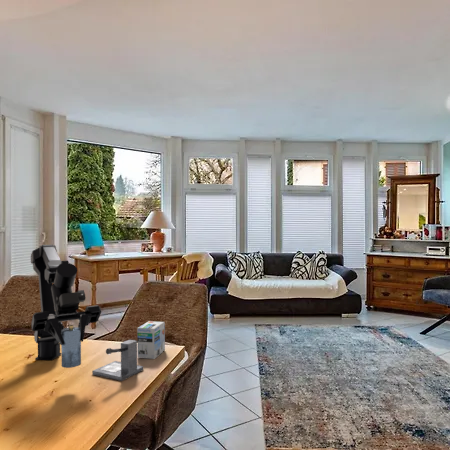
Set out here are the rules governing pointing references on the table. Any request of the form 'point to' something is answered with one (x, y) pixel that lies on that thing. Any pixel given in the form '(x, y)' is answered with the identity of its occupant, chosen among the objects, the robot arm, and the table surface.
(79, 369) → the table surface
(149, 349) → the light bulb box
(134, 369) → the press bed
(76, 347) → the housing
